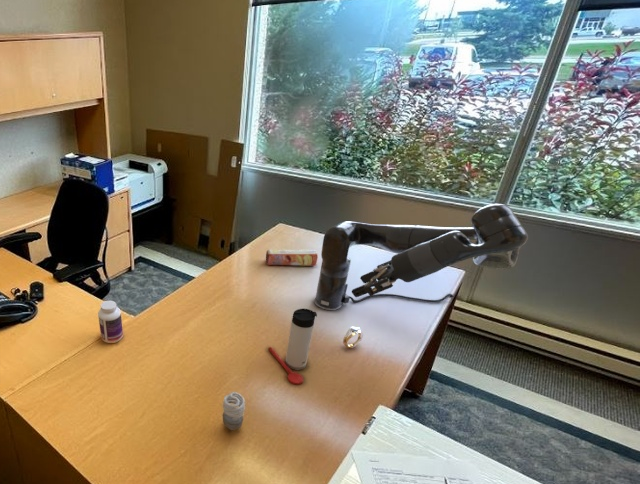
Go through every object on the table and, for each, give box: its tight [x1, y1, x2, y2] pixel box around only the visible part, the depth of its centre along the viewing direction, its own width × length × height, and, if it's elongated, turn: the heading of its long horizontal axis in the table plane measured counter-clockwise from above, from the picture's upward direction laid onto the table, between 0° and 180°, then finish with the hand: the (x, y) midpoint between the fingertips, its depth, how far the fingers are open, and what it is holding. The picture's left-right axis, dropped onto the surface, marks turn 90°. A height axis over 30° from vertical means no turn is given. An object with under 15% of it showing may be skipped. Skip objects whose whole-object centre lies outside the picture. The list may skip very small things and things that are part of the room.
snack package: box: [265, 249, 319, 267], centre depth 187 cm, size 21×7×7 cm, turn 79°
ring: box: [342, 326, 364, 349], centre depth 136 cm, size 7×3×8 cm, turn 104°
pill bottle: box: [97, 300, 124, 344], centre depth 147 cm, size 8×8×14 cm
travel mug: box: [284, 308, 318, 371], centre depth 128 cm, size 6×7×20 cm
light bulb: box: [222, 391, 246, 431], centre depth 110 cm, size 6×6×12 cm
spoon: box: [268, 346, 304, 386], centre depth 132 cm, size 17×4×1 cm, turn 14°
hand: (358, 286), depth 114 cm, fingers open, 8 cm apart
